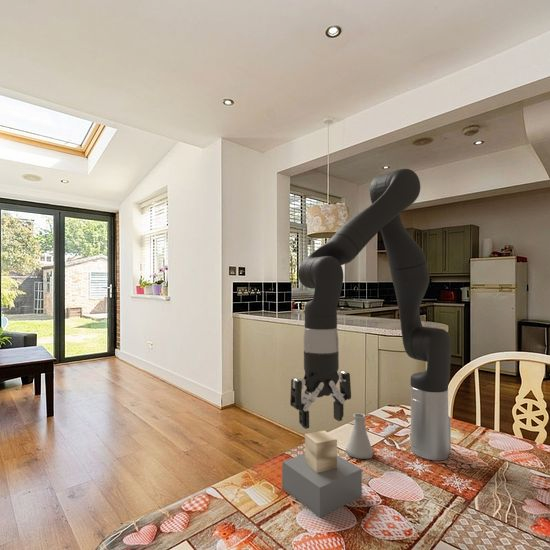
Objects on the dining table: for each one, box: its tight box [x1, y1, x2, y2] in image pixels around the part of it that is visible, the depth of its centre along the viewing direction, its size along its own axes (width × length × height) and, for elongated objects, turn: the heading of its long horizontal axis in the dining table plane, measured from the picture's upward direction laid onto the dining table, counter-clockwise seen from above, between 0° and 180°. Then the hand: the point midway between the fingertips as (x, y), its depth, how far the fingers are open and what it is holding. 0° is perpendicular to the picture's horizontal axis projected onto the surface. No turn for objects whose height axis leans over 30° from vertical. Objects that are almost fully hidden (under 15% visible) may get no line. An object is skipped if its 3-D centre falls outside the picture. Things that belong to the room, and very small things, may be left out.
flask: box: [345, 412, 375, 460], centre depth 92 cm, size 7×7×10 cm
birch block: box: [304, 429, 338, 473], centre depth 75 cm, size 5×5×6 cm
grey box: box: [281, 453, 363, 518], centre depth 75 cm, size 12×12×6 cm
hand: (321, 423), depth 75 cm, fingers open, 8 cm apart
